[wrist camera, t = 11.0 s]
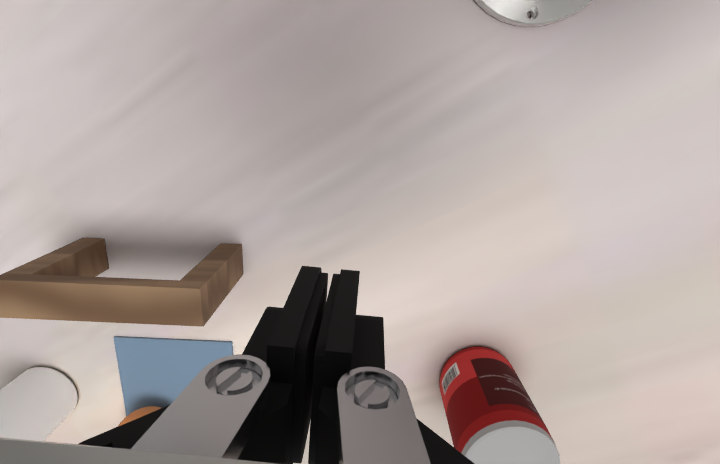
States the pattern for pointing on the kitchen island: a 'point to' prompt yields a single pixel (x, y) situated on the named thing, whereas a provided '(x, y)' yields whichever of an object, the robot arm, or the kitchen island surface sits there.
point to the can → (36, 404)
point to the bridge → (116, 288)
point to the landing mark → (162, 367)
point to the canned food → (492, 411)
